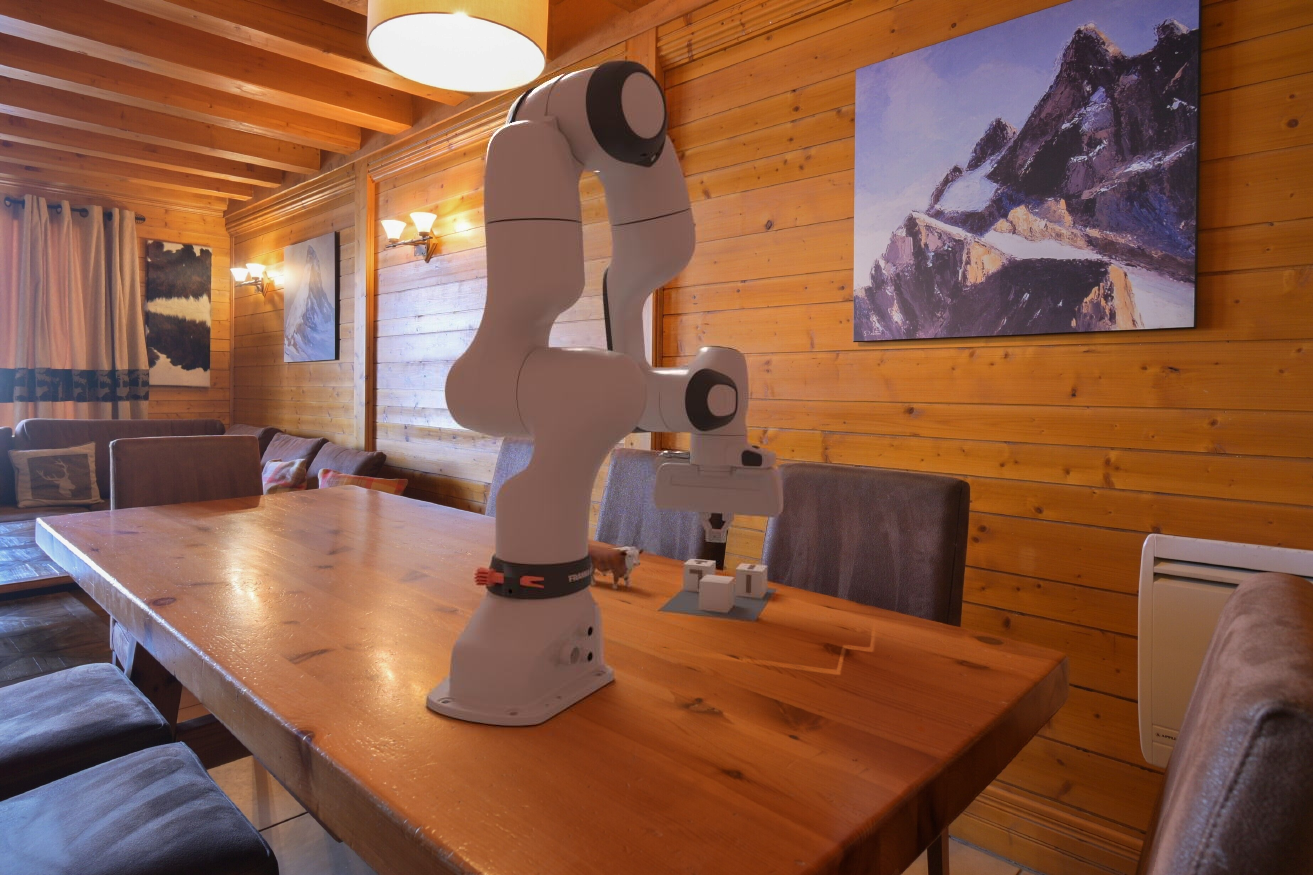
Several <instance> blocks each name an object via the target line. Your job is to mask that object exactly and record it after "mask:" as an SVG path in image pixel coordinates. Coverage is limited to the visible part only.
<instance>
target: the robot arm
mask: <svg viewBox="0 0 1313 875" xmlns="http://www.w3.org/2000/svg"><path fill="white" fill-rule="evenodd" d="M663 91H664V90H663V89H662V87H661V85H660V83H659V82H658V80H657V79H656V78H655V76H654V75H653V74H652V73H651V71H650V70H649V69H648V68H647V67H646V66H645V65H643V64H642V63H639V62H637V61H634V60H614V61H613V60H611V61H605V62H604V63H601V64H600V65H598V66H595V67H589V68H586V69H582V70H578V71H570V72H566V73H564V74H561V75H559V76H556V77H554V78H552V79H551V80H550V79H549V81H546V82H544V83H543V84H541V85H538V86H534V87H531V88H528V89H527V91H525V92H523V93H522V94H521V95H520V96H518V98H516V100H515V101H514V102H513V103H512V105H511V107H510V108H509V111H508V113H507V115H506V120H505V125H504V126H502V127H501V128H499V129H498V130H497V131H495V132H494V134H492V136H491V138H490V140H489V143H488V146H487V150H486V151H487V152H486V158H485V159H486V160H485V169H484V170H485V172H484V182H483V183H484V184H483V186H484V187H483V215H484V216H483V218H484V234H485V236H484V237H485V252H486V297H485V298H486V299H485V304H484V308H483V314H482V318H481V320H480V322H479V323H480V324H479V326H478V329H477V331H476V334H475V336H474V337H473V340H472V341H471V343H470V345H469V346H468V347H467V348H466V350H465V352H464V353H462V354H461V355H460V357H458V358H457V359H456V360H455V361H454V363H452V365H451V367H450V368H449V371H448V373H447V375H446V379H445V382H444V383H445V385H444V398H445V403H446V408H447V409H448V412H449V414H450V416H451V417H452V419H453V420H454V422H455V423H456V424H457V425H459V426H460V427H462V428H464V429H467V430H469V431H473V432H475V433H478V434H482V435H487V436H490V437H495V438H509V439H512V438H513V439H529V440H530V439H531V440H532V439H533V440H534V445H533V446H534V448H533V453H532V456H531V458H530V461H529V462H528V463H527V466H526V467H525V469H524V470H521V471H519V472H518V473H516V474H514V475H513V476H511V477H510V478H508V479H507V480H506V481H504V482H503V484H502V485H501V487H500V488H499V490H498V492H497V494H496V496H495V537H494V538H495V543H494V544H495V552H494V554H493V555H492V557H491V560H490V565H489V567H488V568H486V567H478V568H477V569H476V570H475V572H476V573H474V583H476V584H475V585H476V586H485V589H486V592H485V595H484V597H483V598H482V600H481V602H480V603H479V604H478V606H477V607H476V608H475V611H474V612H473V613H472V615H471V617H470V619H469V620H468V622H467V624H466V625H465V626H464V628H463V630H462V631H461V633H460V634H459V635H458V637H457V639H456V640H455V642H454V644H453V646H452V651H451V657H450V663H449V664H450V668H449V674H448V675H447V676H446V677H445V678H444V679H443V680H442V681H441V682H439V684H437V685H436V686H435V687H434V688H433V689H432V690H430V692H428V694H427V695H426V700H425V705H426V706H427V707H428V708H430V709H431V710H432V711H434V712H436V713H439V714H441V715H444V716H447V717H450V718H455V719H459V720H463V721H468V722H473V723H482V724H488V725H498V726H514V727H516V726H531V725H532V726H533V725H538V724H542V723H544V722H546V721H547V720H549V719H551V718H553V717H554V716H555V715H557V714H560V712H563V711H565V709H567V708H568V707H570V706H572V705H574V704H575V703H577V702H579V701H580V700H582V699H584V698H586V697H588V696H589V695H590V694H592V693H594V692H595V691H597V690H598V689H600V688H602V687H604V686H606V685H607V684H609V683H610V682H612V681H614V680H615V671H614V668H613V667H611V666H609V665H608V664H606V663H605V654H604V635H603V634H604V633H603V632H604V631H603V620H602V618H603V617H602V610H601V607H600V605H599V603H598V602H596V600H595V598H594V597H593V594H592V592H591V589H590V585H591V582H592V562H591V554H590V553H589V552H588V544H589V531H590V530H589V529H590V512H591V503H592V502H591V500H592V493H593V488H594V485H595V482H596V478H597V476H598V473H599V471H600V469H601V467H602V465H603V463H604V462H605V460H606V458H607V457H608V455H609V454H610V453H611V451H612V450H613V449H615V447H616V446H617V444H619V443H620V442H621V441H622V440H624V438H626V437H627V436H629V435H630V434H644V433H654V432H655V433H656V432H657V433H671V434H672V433H674V434H679V433H684V434H686V433H688V434H689V433H690V434H689V436H690V438H689V440H690V441H689V451H685V450H684V451H672V450H664V451H663V452H661V453H659V454H657V456H656V457H655V459H654V462H653V464H654V466H653V468H654V469H653V472H654V475H655V480H654V485H653V486H654V487H653V494H652V495H653V496H652V503H653V505H654V506H655V508H656V509H657V510H668V511H679V512H681V511H682V512H693V513H694V512H696V513H699V515H698V520H699V521H700V523H701V526H702V528H703V529H704V531H705V542H711V543H721V544H722V543H723V544H725V543H726V542H727V531H728V530H729V529H730V527H731V525H732V524H733V522H734V520H735V516H736V515H737V516H738V515H739V516H750V517H763V518H765V517H766V518H776V517H778V516H779V515H780V514H781V513H782V512H783V510H784V490H783V488H784V487H783V483H782V477H781V473H779V471H778V469H776V468H775V465H776V463H777V461H778V460H777V458H778V457H777V453H775V452H774V451H772V450H769V449H766V448H764V447H760V446H758V445H755V444H753V443H749V442H748V438H749V437H748V436H749V435H748V428H747V424H746V417H747V413H748V410H749V402H750V401H749V399H750V398H749V397H750V396H749V395H750V394H749V393H750V392H749V391H750V390H749V388H750V387H749V372H748V367H747V366H748V365H747V360H746V357H745V354H743V353H742V352H741V351H739V350H738V349H735V348H732V347H728V346H727V347H726V346H721V345H707V346H702V347H700V348H698V350H697V351H696V355H695V358H694V359H693V360H692V361H690V362H688V363H686V364H684V365H683V366H676V367H675V366H672V367H671V366H669V367H668V366H667V367H666V366H665V367H663V366H662V367H659V366H658V367H656V366H655V367H654V366H653V365H651V364H650V363H649V362H648V359H647V358H646V347H645V335H644V334H645V333H644V322H643V321H644V320H643V319H644V318H643V312H644V306H645V304H646V301H647V300H648V298H649V297H650V296H651V295H652V293H654V292H655V291H656V290H659V289H660V288H662V287H663V286H665V285H666V284H668V283H670V282H671V281H673V280H674V279H676V278H677V277H678V276H679V275H680V274H681V273H682V272H683V271H685V269H686V268H687V266H688V265H689V263H690V262H691V260H692V258H693V256H694V254H695V250H696V241H697V240H696V238H697V237H696V236H697V234H696V226H695V220H694V215H693V209H692V208H691V207H692V206H691V201H690V196H689V195H690V194H689V191H688V186H687V183H686V179H685V176H684V173H683V172H684V171H683V168H682V166H681V163H680V160H679V157H678V154H677V152H676V149H675V146H674V144H673V142H672V140H671V138H670V137H669V135H667V129H668V109H667V102H666V98H665V95H664V92H663ZM586 172H587V173H593V174H594V175H595V176H596V177H597V179H598V180H599V182H600V184H601V185H602V187H603V191H604V200H605V206H606V213H607V217H608V222H609V225H610V227H609V228H610V232H611V242H612V244H611V246H612V248H611V249H612V250H611V257H610V263H609V264H608V265H607V267H606V268H605V269H604V272H603V277H602V303H603V304H602V306H603V315H604V328H605V337H606V338H605V339H606V348H605V349H604V348H601V347H600V348H599V347H594V346H549V345H550V335H551V331H552V328H553V325H554V324H555V322H556V320H557V318H558V317H559V316H560V315H561V314H562V313H565V312H566V311H568V310H569V309H571V308H572V307H573V306H574V305H575V304H576V303H577V302H579V300H580V299H581V297H582V294H583V292H584V290H585V286H586V279H585V278H586V276H585V275H586V274H585V256H584V255H585V253H584V235H583V217H582V203H581V196H580V195H581V194H580V190H579V189H580V188H579V187H580V186H579V185H580V180H581V179H582V175H583V173H586ZM712 514H720V515H722V516H721V517H722V518H721V519H722V521H723V522H724V524H723V526H722V527H721V528H720V529H718V528H717V529H716V528H713V526H712V524H711V523H710V521H709V519H710V518H711V517H712Z"/></svg>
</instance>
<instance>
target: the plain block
mask: <svg viewBox="0 0 1313 875" xmlns="http://www.w3.org/2000/svg"><path fill="white" fill-rule="evenodd" d="M734 584H735V576H726V575H716V574H715V575H706V576H704V577H703V578H702V579H701V580H700V581H699V610H706V611H714V612H723V613H728V611H729V610H730V609H731V608H732V607H733V605H734Z"/></svg>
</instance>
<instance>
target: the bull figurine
mask: <svg viewBox="0 0 1313 875" xmlns="http://www.w3.org/2000/svg"><path fill="white" fill-rule="evenodd" d="M588 552H589V553H590V554H591V562H592V582H591V584H590V585H592V586H596V585H597V584H596V579H595V572H596V570H597V571H598V572H600V573H601V574H602V576H603V577H606V576H607V574H612V576H613V585H612V587H611V588H612V589H615V590H616V589H617V590H618V582H619V581H620V579H623V580H624V582H625V587H626V588H631V583H630V575H631V573H632V572H633V568H635V567H639V566H641V561H640V560H639V557H640V556H639V555H641V554H642V553H643V552H644V549H643V548H640V549H638V548H637V547H636V546H633V545H632V546H622V547H614V548H613V547H605V546H600V545H599V546H598V545H595V544H590V543H588Z"/></svg>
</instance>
